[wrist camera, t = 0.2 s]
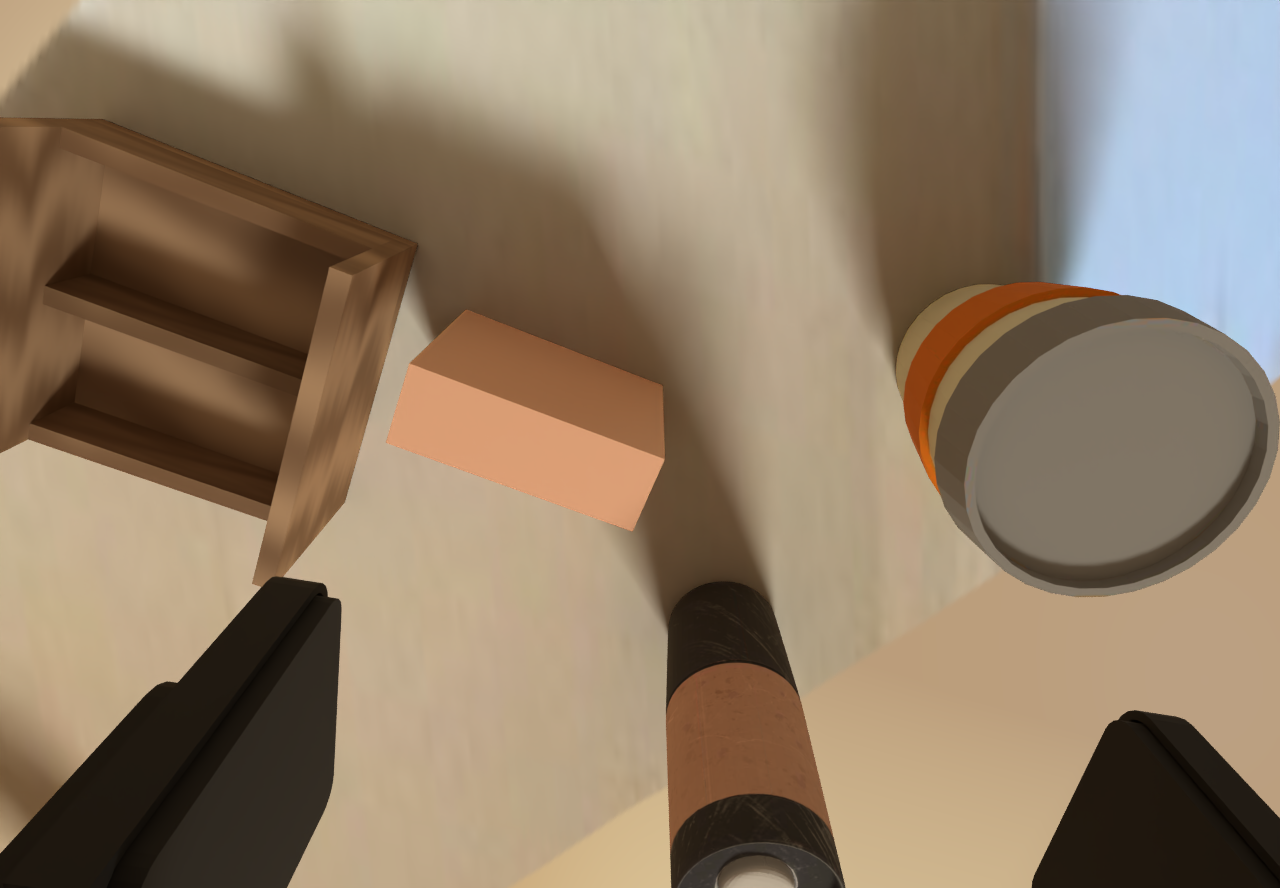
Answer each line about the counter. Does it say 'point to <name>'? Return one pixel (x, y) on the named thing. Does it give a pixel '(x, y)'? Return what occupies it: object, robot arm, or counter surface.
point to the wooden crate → (189, 323)
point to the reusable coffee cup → (1086, 431)
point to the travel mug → (740, 752)
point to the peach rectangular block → (534, 418)
